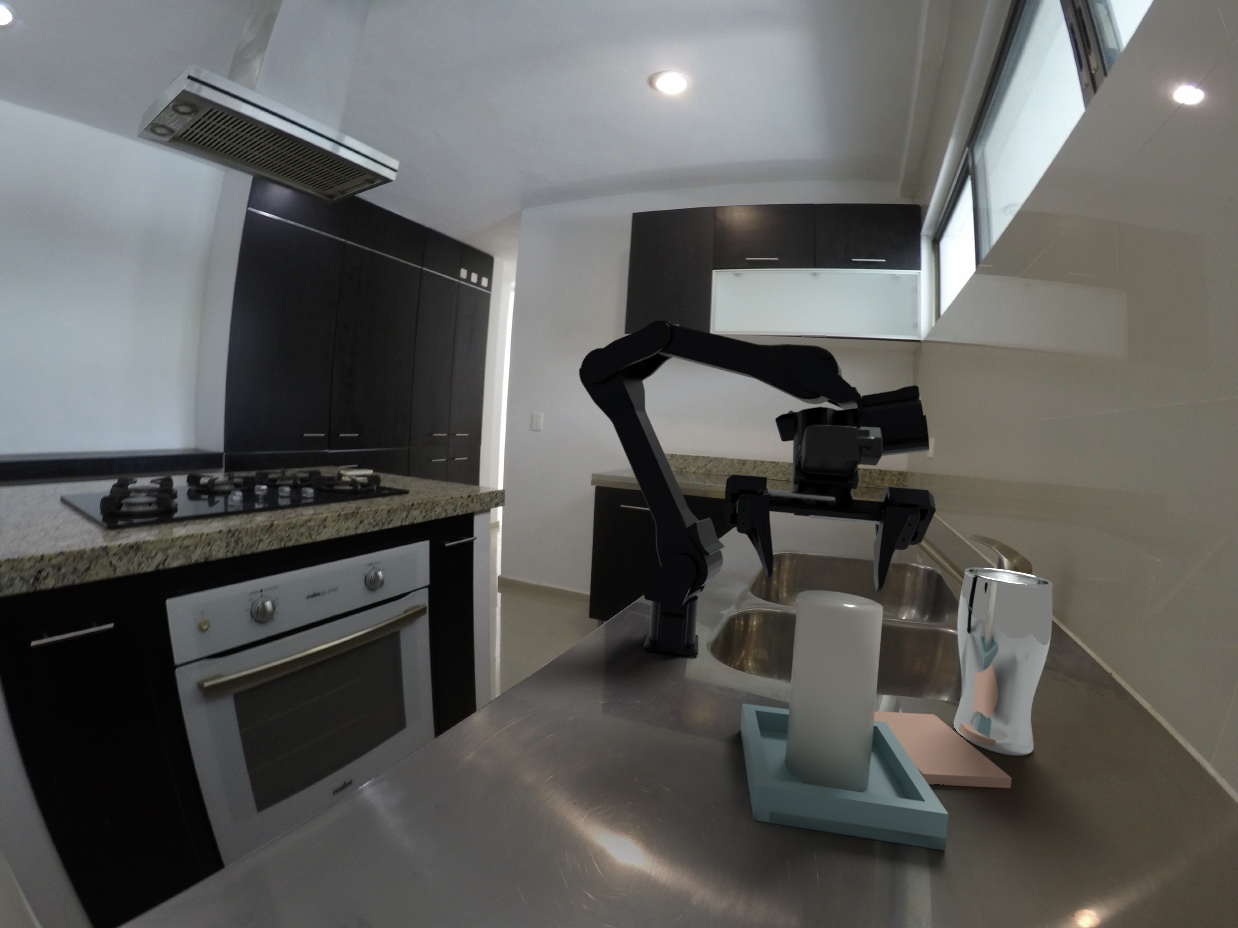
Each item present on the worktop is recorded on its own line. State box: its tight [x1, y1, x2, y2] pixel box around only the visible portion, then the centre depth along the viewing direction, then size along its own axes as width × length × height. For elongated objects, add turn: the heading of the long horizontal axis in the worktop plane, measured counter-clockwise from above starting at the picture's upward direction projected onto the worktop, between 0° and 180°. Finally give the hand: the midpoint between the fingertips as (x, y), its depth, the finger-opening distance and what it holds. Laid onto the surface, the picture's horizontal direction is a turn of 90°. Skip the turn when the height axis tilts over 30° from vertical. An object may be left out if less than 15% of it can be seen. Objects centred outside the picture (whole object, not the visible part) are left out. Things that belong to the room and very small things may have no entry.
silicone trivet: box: [874, 710, 1012, 789], centre depth 48 cm, size 10×7×1 cm
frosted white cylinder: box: [785, 589, 884, 792], centre depth 42 cm, size 6×6×13 cm
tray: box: [739, 703, 949, 852], centre depth 42 cm, size 12×12×2 cm
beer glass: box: [953, 566, 1054, 757], centre depth 50 cm, size 7×7×15 cm
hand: (823, 582), depth 49 cm, fingers open, 9 cm apart
